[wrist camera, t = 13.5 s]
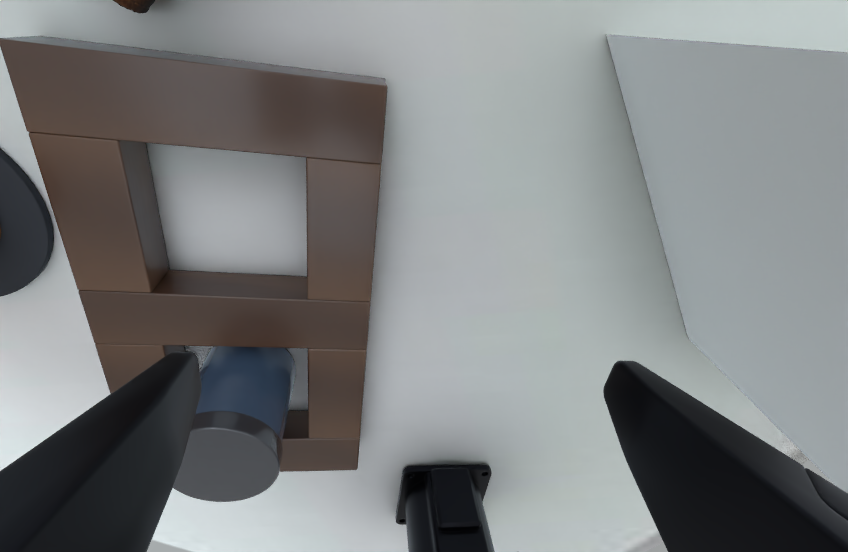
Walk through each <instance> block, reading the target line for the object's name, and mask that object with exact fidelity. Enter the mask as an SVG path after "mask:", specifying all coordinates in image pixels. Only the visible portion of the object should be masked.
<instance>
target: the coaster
mask: <svg viewBox="0 0 848 552" xmlns="http://www.w3.org/2000/svg"><path fill="white" fill-rule="evenodd" d="M0 228H1V238H0V296H4V295H7V294H10V293H13V292H15V291H18V290H19V289H21V288H23V287H25V286H26V285H28V284H29V283H30V282H31V281H33V280H34V279H35V278H36V277H37V276H39V274H40V273H41V272H42V271H43V269H44V268H45V266H46V265H47V263H48V261H49V259H50V255H51V252H52V247H53V229H52V224H51V220H50V216H49V213H48V211H47V208H46V206H45V203H44V201H43V200H42V198H41V196H40V194H39V192H38V191H37V189H36V188H35V186H34V185H33V183H32V182H31V181H30V179H29V178H28V177H27V175H26V174H25V173H24V172H23V171H22V170H21V169H20V167H19V166H18V165H17V164H16V163H15V162H14V161H13V160H12V159H11V158H10V157H9V156H7V155H6V154H5V153H4V152H3V151H2V150H1V149H0Z"/></svg>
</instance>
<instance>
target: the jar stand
mask: <svg viewBox="0 0 848 552" xmlns="http://www.w3.org/2000/svg"><path fill="white" fill-rule="evenodd" d="M0 47H1V50H2V53H3V56H4V59H5V63H6V66H7V69H8V72H9V75H10V78H11V81H12V85H13V88H14V91H15V94H16V97H17V100H18V104H19V107H20V110H21V113H22V116H23V119H24V122H25V126H26V129H27V131H28V132H29V137H30V140H31V143H32V146H33V149H34V152H35V155H36V159H37V162H38V165H39V168H40V171H41V174H42V178H43V181H44V184H45V187H46V190H47V193H48V197H49V200H50V203H51V206H52V209H53V212H54V216H55V219H56V222H57V225H58V228H59V231H60V234H61V238H62V241H63V244H64V247H65V250H66V253H67V257H68V260H69V263H70V266H71V269H72V272H73V276H74V279H75V282H76V285H77V288H78V290H79V295H80V298H81V301H82V304H83V307H84V311H85V314H86V317H87V320H88V323H89V326H90V330H91V333H92V336H93V339H94V342H95V343H96V344H95V346H96V349H97V352H98V355H99V358H100V362H101V365H102V368H103V371H104V374H105V377H106V381H107V384H108V387H109V390H110V393H111V394H112V393H113V392H115V391H116V390H117V389H119V388H120V387H122V386H123V385H125V384H126V383H128V382H129V381H130V380H132V379H133V378H135V377H136V376H138V375H139V374H140V373H142V372H143V371H145V370H146V369H148V368H149V367H150V366H152V365H153V364H155V363H156V362H158V361H159V360H161V359H162V358H163V357H165V356H166V355H168V354H169V353H171V352H185V349H184V346H228V347H273V348H308V411H289V413H288V418H287V423H286V428H285V434H284V439H283V444H282V447H283V455H282V460H281V466H280V471H279V472H283V471H328V470H357V468H358V455H359V443H360V430H361V417H362V405H363V392H364V379H365V366H366V354H367V341H368V328H369V316H370V301H371V290H372V278H373V265H374V252H375V239H376V227H377V214H378V201H379V188H380V176H381V163H382V151H383V138H384V125H385V112H386V100H387V84H386V81H385V79H383V78H375V77H367V76H359V75H351V74H343V73H335V72H327V71H319V70H311V69H303V68H295V67H287V66H279V65H271V64H263V63H255V62H247V61H238V60H230V59H222V58H214V57H206V56H198V55H190V54H182V53H174V52H166V51H158V50H150V49H142V48H134V47H126V46H118V45H110V44H102V43H94V42H86V41H78V40H69V39H61V38H53V37H45V36H30V37H13V38H0ZM146 143H156V144H167V145H178V146H189V147H200V148H211V149H221V150H232V151H243V152H254V153H265V154H276V155H287V156H297V157H307V158H306V193H307V277H302V276H282V275H261V274H241V273H220V272H199V271H179V270H169V264H168V259H167V254H166V248H165V243H164V238H163V233H162V227H161V222H160V217H159V211H158V206H157V201H156V195H155V190H154V185H153V179H152V174H151V169H150V163H149V158H148V153H147V147H146Z"/></svg>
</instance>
